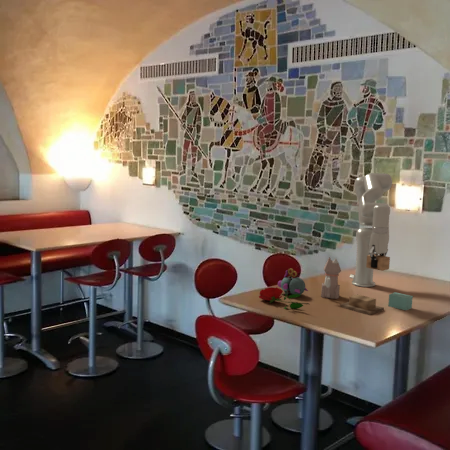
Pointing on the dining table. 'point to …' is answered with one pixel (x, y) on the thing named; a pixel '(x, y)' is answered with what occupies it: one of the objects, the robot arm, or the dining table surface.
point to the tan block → (379, 262)
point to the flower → (275, 295)
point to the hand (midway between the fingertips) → (377, 266)
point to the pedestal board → (371, 311)
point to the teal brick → (400, 301)
